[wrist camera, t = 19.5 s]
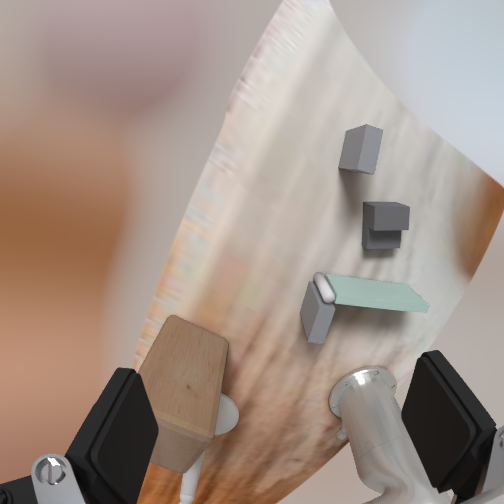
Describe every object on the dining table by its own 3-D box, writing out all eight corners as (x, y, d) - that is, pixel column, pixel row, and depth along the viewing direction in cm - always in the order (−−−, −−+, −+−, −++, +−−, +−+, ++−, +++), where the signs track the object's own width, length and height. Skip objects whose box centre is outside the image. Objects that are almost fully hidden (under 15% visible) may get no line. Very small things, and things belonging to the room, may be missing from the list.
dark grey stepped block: (362, 201, 39) (374, 206, 35) (395, 201, 39) (409, 206, 35) (361, 244, 41) (372, 254, 37) (393, 243, 41) (406, 252, 37)
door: (312, 280, 42) (322, 302, 35) (314, 271, 42) (324, 291, 35) (406, 293, 42) (426, 313, 36) (408, 284, 42) (430, 304, 35)
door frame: (313, 314, 44) (322, 344, 36) (299, 312, 44) (307, 342, 36) (360, 135, 37) (383, 130, 29) (346, 131, 37) (366, 124, 29)
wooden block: (231, 338, 45) (216, 440, 26) (206, 381, 48) (185, 478, 29) (170, 310, 44) (122, 400, 25) (151, 356, 47) (107, 446, 28)
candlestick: (253, 408, 49) (248, 563, 21) (215, 441, 52) (196, 572, 24) (190, 375, 48) (145, 536, 19) (158, 412, 51) (113, 545, 22)
